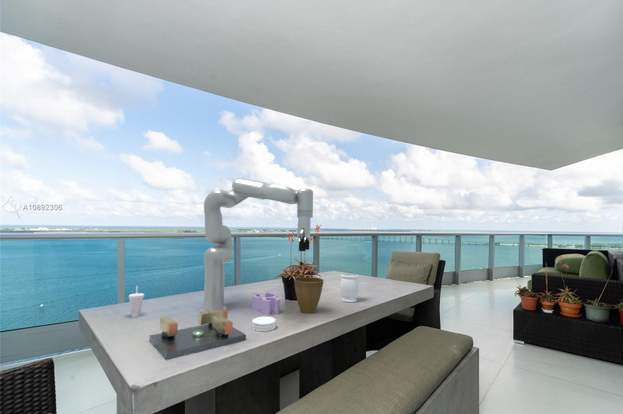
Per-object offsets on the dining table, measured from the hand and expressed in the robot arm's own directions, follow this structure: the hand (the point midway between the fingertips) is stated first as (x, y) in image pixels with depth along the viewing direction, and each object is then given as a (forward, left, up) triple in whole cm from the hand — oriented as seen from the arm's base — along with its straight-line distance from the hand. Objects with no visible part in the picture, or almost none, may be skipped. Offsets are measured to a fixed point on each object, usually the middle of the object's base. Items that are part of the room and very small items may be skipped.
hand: (304, 250), depth 150 cm
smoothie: (-46, -61, -31) cm, 83 cm away
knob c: (+5, -43, -29) cm, 52 cm away
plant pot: (-5, +8, -31) cm, 33 cm away
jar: (-8, +42, -31) cm, 53 cm away
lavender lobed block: (-20, -7, -32) cm, 38 cm away
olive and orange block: (-5, -59, -29) cm, 66 cm away
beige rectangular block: (-6, -41, -29) cm, 51 cm away
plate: (+1, -50, -31) cm, 59 cm away
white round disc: (+3, -23, -32) cm, 39 cm away
